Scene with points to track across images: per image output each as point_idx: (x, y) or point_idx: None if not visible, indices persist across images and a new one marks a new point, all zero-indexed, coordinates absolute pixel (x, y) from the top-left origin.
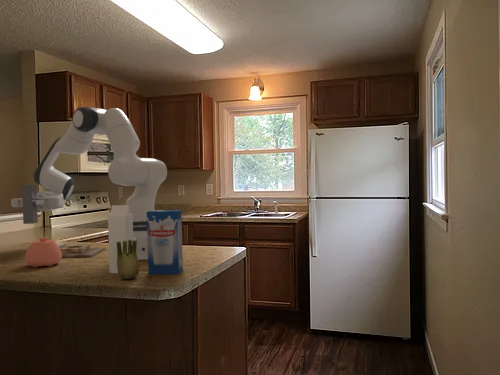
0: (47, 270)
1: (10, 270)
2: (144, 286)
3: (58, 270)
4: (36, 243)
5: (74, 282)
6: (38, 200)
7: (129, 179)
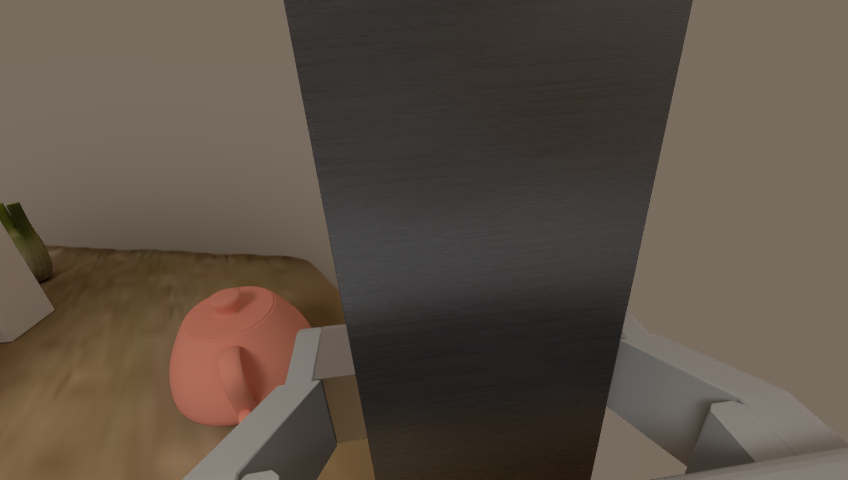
0: None
1: None
2: None
3: None
4: (250, 286)
5: (154, 259)
6: (290, 365)
7: None
